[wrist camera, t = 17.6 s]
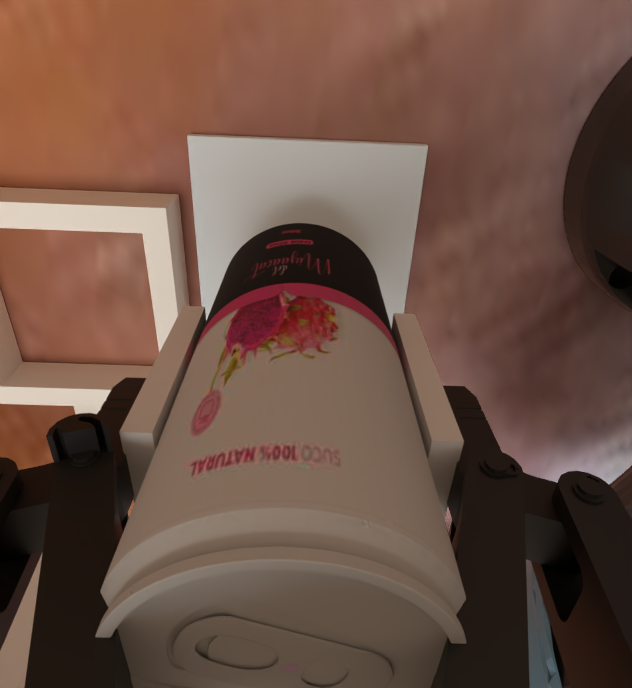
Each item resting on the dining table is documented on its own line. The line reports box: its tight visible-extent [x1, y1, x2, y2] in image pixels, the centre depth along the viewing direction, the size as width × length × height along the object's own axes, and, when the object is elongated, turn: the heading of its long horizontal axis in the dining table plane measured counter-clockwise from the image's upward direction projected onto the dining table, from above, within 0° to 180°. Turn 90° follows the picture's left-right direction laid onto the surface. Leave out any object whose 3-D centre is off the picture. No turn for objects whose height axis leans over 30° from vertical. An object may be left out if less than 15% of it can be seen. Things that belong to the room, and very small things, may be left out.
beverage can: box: [95, 223, 467, 688], centre depth 15 cm, size 6×7×15 cm
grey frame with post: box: [0, 187, 190, 688], centre depth 22 cm, size 11×18×16 cm, turn 178°
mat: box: [187, 134, 428, 329], centre depth 26 cm, size 11×11×1 cm
